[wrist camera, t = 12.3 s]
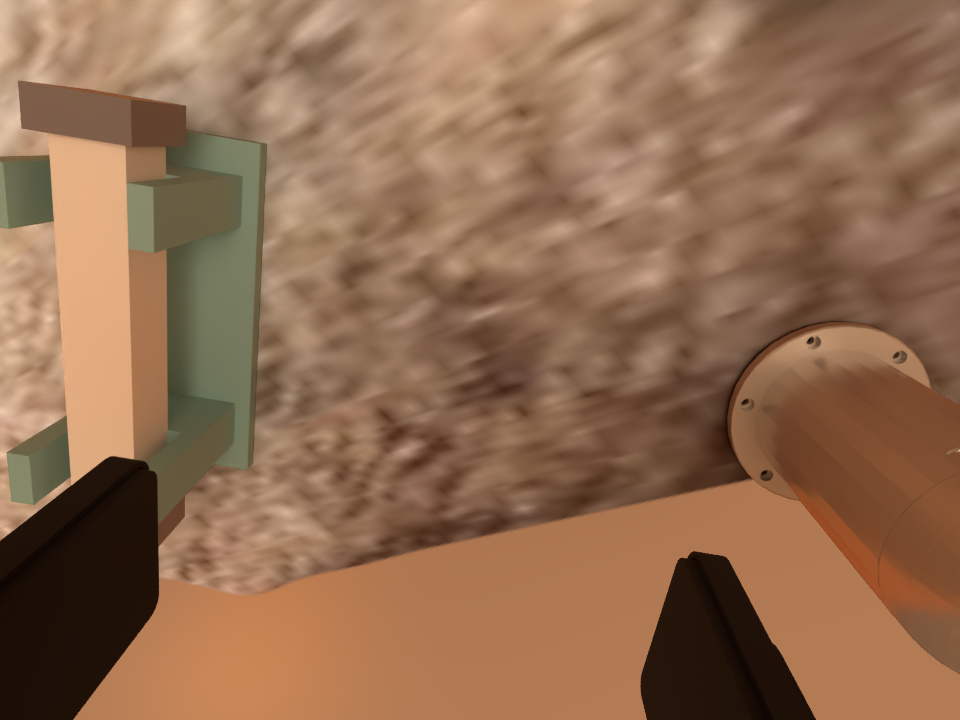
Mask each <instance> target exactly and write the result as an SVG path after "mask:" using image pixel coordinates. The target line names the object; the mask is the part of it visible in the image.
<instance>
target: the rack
mask: <svg viewBox="0 0 960 720" xmlns="http://www.w3.org/2000/svg"><path fill="white" fill-rule="evenodd" d="M266 152H267V144H264V143H258V142H252V141H246V140H241V139H235V138H229V137H223V136H217V135H211V134H205V133H199V132H193V131H187V130H186V146H166V179H158V180H148V181H139V182H129V183H127V211H128V248H129V249H132V250H138V251H144V252H150V253H156V252H159V251H163V250H166V254H167V392H168V445H166V446H165V447H164V448H163V449H162V450H161V451H160V452H159V453H157V454H156V455H155V456H154V457H153V458H152V459H151V460H149V461H148V462H147V464H148V466H149V470H150V471H154V472H156V475H157V480H158V524H159V523H160V522H161V521H162V520H163V519H164V518H165V517H166V516H167V515H168V514H169V512H170V511H171V510H172V509H173V508H174V507H175V506H176V505H177V504H178V503H179V502H180V500H181V499H182V498H183V497H184V496H185V495H186V494H187V493H188V492H189V491H190V490H191V489H192V487H193V486H194V485H195V484H196V483H197V482H198V481H199V480H200V479H201V478H202V477H203V476H204V474H205V473H206V472H207V471H208V470H209V469H210V468H211V467H212V466H213V465H214V464H215V465H221V466H227V467H233V468H239V469H245V470H248V468H249V467H250V466H251V465H252V463H253V446H254V423H255V401H256V378H257V355H258V333H259V310H260V288H261V265H262V243H263V220H264V198H265V175H266ZM51 221H54V215H53V200H52V184H51V169H50V155H45V156H9V157H0V227H1V228H7V229H11V228H16V227H22V226H28V225H34V224H40V223H45V222H51ZM7 462H8V472H9V481H10V491H11V501H12V502H18V503H24V504H31V505H34V504H35V503H37V502H38V501H39V500H41V499H42V498H43V497H45V496H46V495H47V494H49V493H50V492H51V491H53V490H54V489H55V488H57V487H58V486H59V485H60V484H62V483H63V482H64V481H66V480H67V479H68V478H70V477H71V472H70V457H69V442H68V427H67V416H65V417H64V418H62V419H60V420H59V421H57V422H56V423H54V424H52V425H51V426H49V427H47V428H46V429H44V430H43V431H41V432H39V433H38V434H36V435H34V436H33V437H31V438H30V439H28V440H26V441H25V442H23V443H21V444H20V445H18V446H17V447H15V448H13V449H12V450H10V451H8V452H7Z"/></svg>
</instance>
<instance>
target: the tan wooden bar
mask: <svg viewBox="0 0 960 720" xmlns="http://www.w3.org/2000/svg"><path fill="white" fill-rule="evenodd" d="M18 87H19V100H20V112H21V125H22V128H23V129H29V130H35V131H40V132H46V133H48V139H49V154H50V169H51V184H52V200H53V215H54V230H55V245H56V260H57V275H58V290H59V305H60V321H61V336H62V351H63V366H64V381H65V396H66V411H67V427H68V442H69V457H70V472H71V485H73V484H74V483H75V482H76V481H78V480H79V479H80V478H81V477H83V476H84V475H85V474H87V473H88V472H89V471H90V470H92V469H93V468H94V467H96V466H97V465H98V464H99V463H101V462H102V461H103V460H105V459H106V458H108V457H110V456H117V457H123V458H129V459H135V460H141V461H145V462H146V463H147V462H148V461H149V460H151V459H152V458H153V457H154V456H155V455H156V454H157V453H159V452H160V451H161V450H162V449H163V448H164V447H165V446H166V445H168V392H167V254H166V250H163V251H159V252H156V253H150V252H144V251H138V250H132V249H129V248H128V211H127V183H129V182H139V181H148V180H158V179H166V146H186V106H184V105H178V104H172V103H166V102H160V101H154V100H148V99H142V98H137V97H131V96H125V95H119V94H113V93H107V92H101V91H95V90H89V89H81V88H73V87H65V86H57V85H49V84H41V83H33V82H26V81H18ZM184 517H185V496H184V497H183V498H182V499H181V500H180V502H179V503H178V504H177V505H176V506H175V507H174V508H173V509H172V510H171V511H170V512H169V514H168V515H167V516H166V517H165V518H164V519H163V520H162V521H161V522H160V523H159V524H158V547H159V546H160V544H161V543H162V542H163V541H164V540H165V539H166V538H167V536H168V535H169V534H170V533H171V532H172V531H173V530H174V528H175V527H176V526H177V525H178V524H179V523H180V521H181V520H182V519H183V518H184Z"/></svg>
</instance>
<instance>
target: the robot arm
mask: <svg viewBox="0 0 960 720" xmlns="http://www.w3.org/2000/svg"><path fill="white" fill-rule="evenodd" d="M809 338H811V339H810V341H809V342H807V341H808V339H809ZM745 399H746V401H745V402H743V403H742V401H743V400H745ZM727 425H728V436H729V439H730V443H731V447H732V450H733V451H734V453H735V455H736V457H737V459H738V461H739V462H740V464H741V465H742V466H743V468H744V469H745V470H746V472H747V473H748V474H749V475H750V476H751V477H752V478H753V479H754V480H755V481H756V482H757V483H758V484H759V485H761V486H762V487H764V488H766V489H768V490H769V491H771V492H773V493H775V494H777V495H780V496H783V497H785V498H788V499H793V500H798V501H801V502H802V504H803V505H804V506H805V507H806V509H807V510H808V511H809V512H810V513H811V515H812V516H813V517H814V518H815V520H816V521H817V522H818V523H819V524H820V526H821V527H822V528H823V530H824V531H825V532H826V533H827V534H828V536H829V537H830V538H831V539H832V541H833V542H834V543H835V544H836V546H837V547H838V548H839V549H840V551H841V552H842V553H843V554H844V555H845V556H846V558H847V559H848V560H849V562H850V563H851V564H852V565H853V567H854V568H855V569H856V570H857V572H858V573H859V574H860V575H861V576H862V578H863V579H864V580H865V581H866V583H867V584H868V585H869V586H870V588H871V589H872V590H873V591H874V592H875V594H876V595H877V596H878V597H879V599H880V600H881V601H882V602H883V603H884V605H885V606H886V607H887V608H888V610H889V611H890V612H891V613H892V615H893V616H894V617H896V619H897V620H898V621H899V623H900V624H901V625H902V626H903V627H904V629H905V630H906V631H907V632H908V633H909V635H910V636H911V637H912V638H913V639H914V640H915V641H916V642H917V643H918V644H919V645H920V646H921V647H922V648H923V649H924V650H925V651H927V652H928V653H929V654H930V655H931V656H933V657H934V658H935V659H936V660H938V661H939V662H941V663H942V664H944V665H945V666H947V667H948V668H950V669H952V670H953V671H955V672H957V673H959V674H960V406H959V405H958V404H956V403H954V402H952V401H951V400H949V399H947V398H946V397H944V396H942V395H941V394H939V393H937V392H935V391H934V390H932V389H931V386H930V381H929V378H928V375H927V373H926V370H925V368H924V366H923V364H922V362H921V361H920V360H919V358H918V357H917V356H916V354H915V353H914V352H913V351H912V350H911V349H910V348H909V347H908V346H906V345H905V344H904V343H903V342H902V341H900V340H899V339H897V338H895V337H894V336H892V335H890V334H888V333H886V332H884V331H882V330H879V329H877V328H874V327H871V326H869V325H865V324H859V323H853V322H827V323H822V324H817V325H812V326H808V327H805V328H803V329H800V330H797V331H795V332H792V333H790V334H788V335H786V336H784V337H783V338H781V339H779V340H777V341H776V342H774V343H773V344H771V345H770V346H769V347H768V348H766V349H765V350H764V351H763V352H761V353H760V354H759V355H758V356H757V357H756V358H755V359H754V360H753V362H752V363H751V364H750V365H749V366H748V367H747V368H746V370H745V371H744V373H743V374H742V376H741V378H740V379H739V381H738V383H737V384H736V386H735V389H734V392H733V394H732V397H731V400H730V403H729V410H728V416H727ZM158 597H159V558H158V480H157V475H156V472H154V471H150V470H149V466H148V464H147V463H146V462H145V461H141V460H135V459H129V458H123V457H117V456H110V457H108V458H106V459H105V460H103V461H102V462H101V463H99V464H98V465H97V466H96V467H94V468H93V469H92V470H90V471H89V472H88V473H87V474H85V475H84V476H83V477H81V478H80V479H79V480H78V481H76V482H75V483H74V484H73V485H71V486H70V487H69V488H67V489H66V490H65V491H64V492H62V493H61V494H60V495H58V496H57V497H56V498H55V499H53V500H52V501H51V502H50V503H48V504H47V505H46V506H44V507H43V508H42V509H41V510H39V511H38V512H37V513H35V514H34V515H33V516H32V517H30V518H29V519H28V520H26V521H25V522H24V523H23V524H21V525H20V526H19V527H18V528H16V529H15V530H14V531H12V532H11V533H10V534H9V535H7V536H6V537H5V538H3V539H2V540H1V541H0V720H73V719H74V718H75V716H76V715H77V714H78V712H79V711H80V710H81V708H82V707H83V706H84V704H85V703H86V702H87V700H88V699H89V698H90V697H91V695H92V694H93V693H94V691H95V690H96V688H97V687H98V686H99V685H100V683H101V682H102V681H103V679H104V678H105V677H106V675H107V674H108V673H109V671H110V670H111V669H112V667H113V666H114V665H115V663H116V662H117V661H118V660H119V658H120V657H121V656H122V654H123V653H124V652H125V650H126V649H127V648H128V646H129V645H130V644H131V642H132V641H133V640H134V638H135V637H136V636H137V634H138V633H139V632H140V630H141V629H142V628H143V627H144V625H145V623H147V621H148V620H149V619H150V617H151V616H152V614H153V612H154V610H155V608H156V605H157V602H158ZM641 696H642V700H643V705H644V709H645V713H646V717H647V720H816V719H815V717H814V715H813V713H812V711H811V709H810V707H809V706H808V704H807V702H806V700H805V698H804V696H803V694H802V692H801V690H800V689H799V687H798V685H797V683H796V681H795V679H794V677H793V675H792V673H791V672H790V670H789V668H788V666H787V664H786V662H785V660H784V658H783V657H782V655H781V653H780V651H779V650H778V649H777V647H776V646H775V645H774V644H772V642H771V640H770V638H769V637H768V634H767V633H766V631H765V629H764V627H763V625H762V623H761V621H760V619H759V617H758V615H757V614H756V611H755V610H754V608H753V606H752V604H751V602H750V600H749V598H748V596H747V594H746V592H745V590H744V588H743V587H742V585H741V583H740V581H739V579H738V577H737V575H736V573H735V571H734V570H733V568H732V566H731V564H730V562H729V560H728V559H727V558H726V557H724V556H719V555H713V554H706V553H701V552H695V551H694V552H692V553H690V555H689V556H688V558H687V559H686V558H680V559H679V560H678V562H677V564H676V567H675V571H674V574H673V577H672V580H671V583H670V586H669V589H668V592H667V595H666V599H665V602H664V605H663V608H662V611H661V614H660V617H659V621H658V624H657V627H656V630H655V633H654V636H653V640H652V643H651V646H650V649H649V652H648V655H647V659H646V662H645V665H644V668H643V671H642V675H641Z"/></svg>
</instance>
